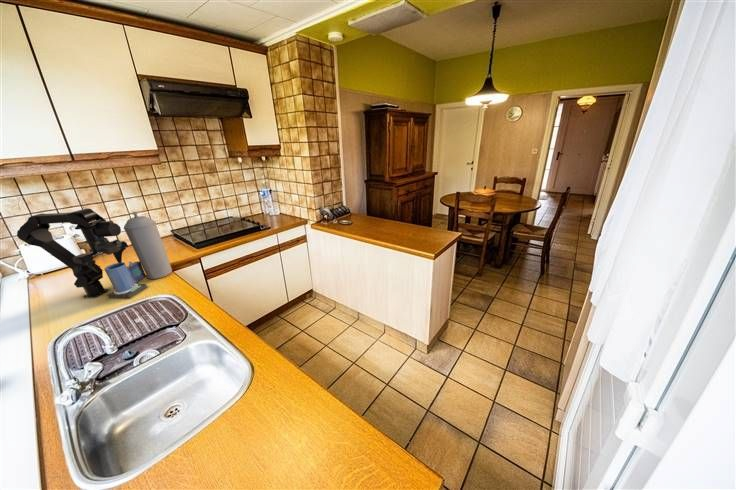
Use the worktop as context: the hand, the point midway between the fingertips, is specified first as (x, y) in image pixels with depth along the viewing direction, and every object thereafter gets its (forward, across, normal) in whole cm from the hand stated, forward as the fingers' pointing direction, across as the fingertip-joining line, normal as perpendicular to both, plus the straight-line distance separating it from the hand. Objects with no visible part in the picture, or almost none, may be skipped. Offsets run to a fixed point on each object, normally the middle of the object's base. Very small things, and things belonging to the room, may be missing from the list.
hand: (110, 268), depth 124 cm
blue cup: (+10, 0, -4) cm, 11 cm away
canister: (+13, +17, -4) cm, 22 cm away
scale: (+13, 0, -5) cm, 14 cm away
